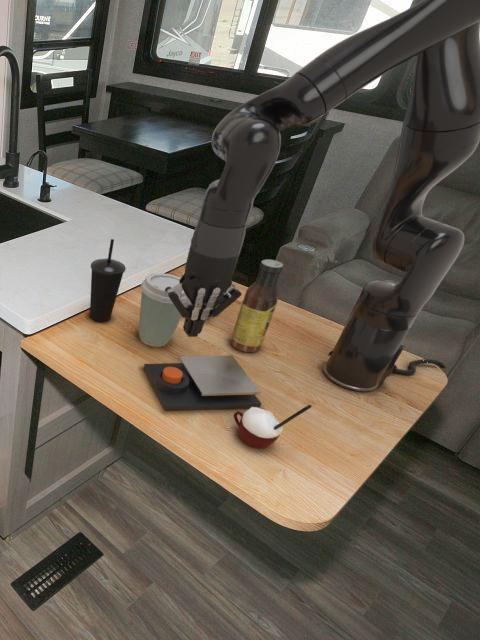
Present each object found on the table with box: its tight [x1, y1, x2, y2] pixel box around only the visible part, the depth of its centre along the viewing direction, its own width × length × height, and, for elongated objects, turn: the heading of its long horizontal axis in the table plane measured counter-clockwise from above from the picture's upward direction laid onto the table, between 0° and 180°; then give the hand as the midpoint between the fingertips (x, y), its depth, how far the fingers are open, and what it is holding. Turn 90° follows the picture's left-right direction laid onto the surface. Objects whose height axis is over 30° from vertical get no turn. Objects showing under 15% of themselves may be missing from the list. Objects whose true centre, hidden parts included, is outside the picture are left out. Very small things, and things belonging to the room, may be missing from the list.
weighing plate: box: [178, 354, 261, 396], centre depth 101 cm, size 11×12×1 cm
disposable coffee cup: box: [138, 272, 187, 348], centre depth 112 cm, size 11×11×15 cm
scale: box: [142, 362, 262, 412], centre depth 102 cm, size 18×13×3 cm
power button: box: [162, 367, 183, 384], centre depth 101 cm, size 4×4×2 cm
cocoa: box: [233, 404, 312, 449], centre depth 87 cm, size 10×6×12 cm, turn 10°
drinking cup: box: [89, 238, 127, 324], centre depth 119 cm, size 8×8×20 cm
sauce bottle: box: [230, 258, 284, 353], centre depth 109 cm, size 6×6×20 cm
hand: (191, 334), depth 94 cm, fingers closed
